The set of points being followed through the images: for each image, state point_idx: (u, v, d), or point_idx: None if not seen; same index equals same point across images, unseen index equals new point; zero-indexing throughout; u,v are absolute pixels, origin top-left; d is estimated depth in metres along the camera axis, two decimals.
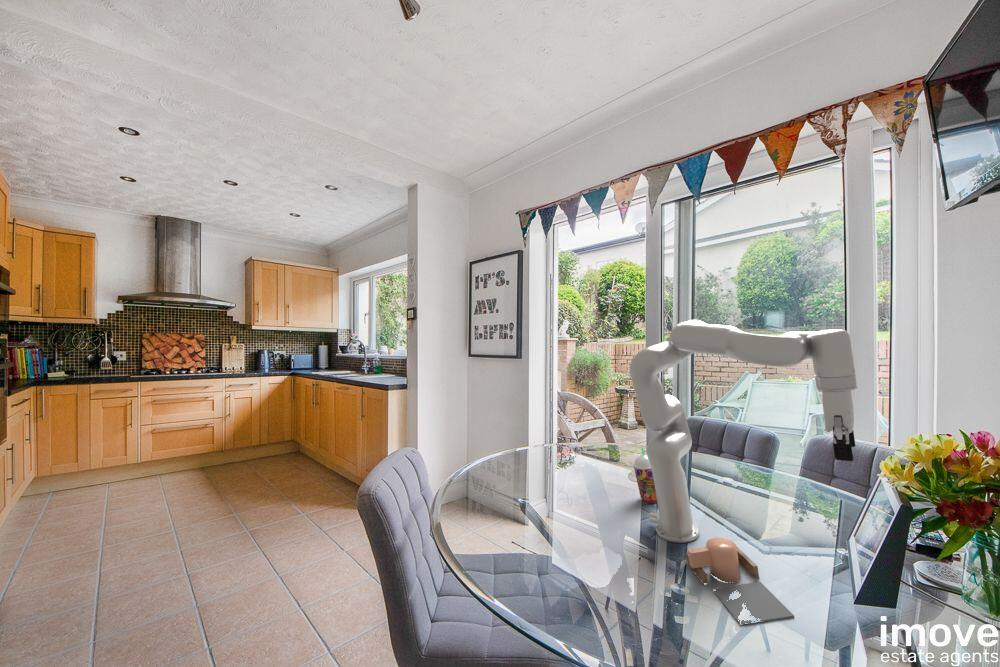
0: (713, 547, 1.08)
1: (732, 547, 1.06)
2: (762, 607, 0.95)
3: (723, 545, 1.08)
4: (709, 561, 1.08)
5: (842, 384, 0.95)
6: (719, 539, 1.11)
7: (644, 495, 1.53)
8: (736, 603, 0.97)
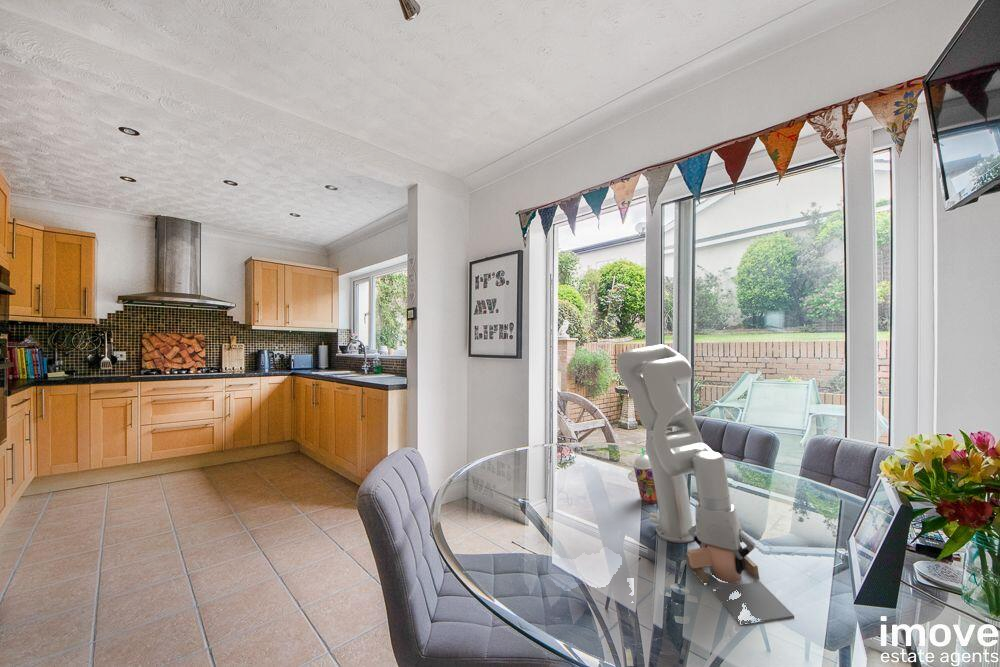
0: (714, 547, 1.08)
1: None
2: (762, 607, 0.95)
3: None
4: (710, 561, 1.08)
5: None
6: None
7: (644, 495, 1.53)
8: (736, 603, 0.97)
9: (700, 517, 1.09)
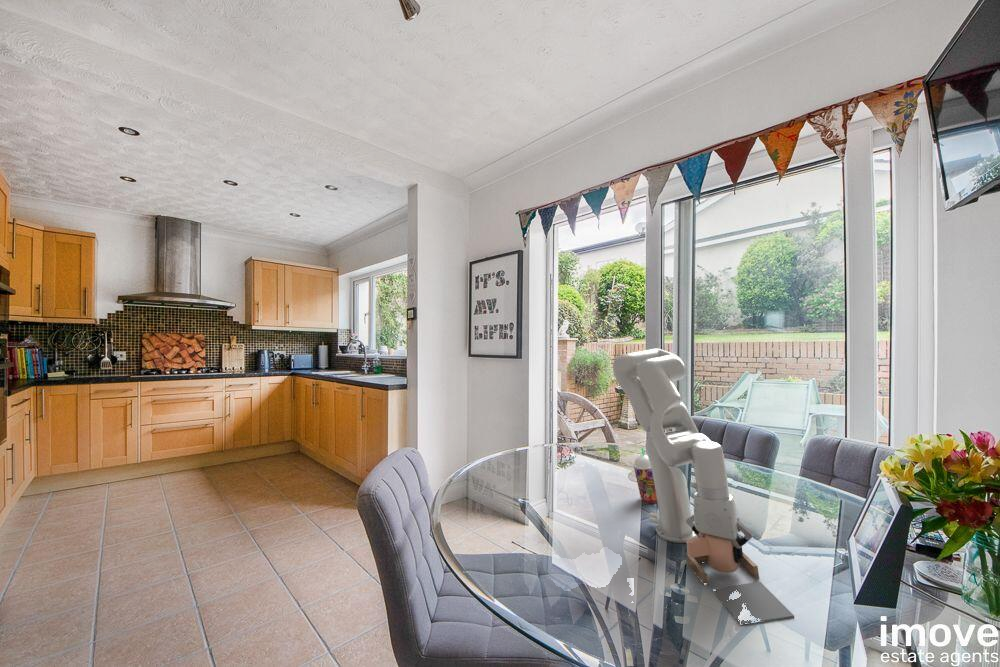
0: (712, 537, 1.08)
1: None
2: (762, 607, 0.95)
3: None
4: (707, 550, 1.08)
5: (728, 489, 1.07)
6: None
7: (644, 495, 1.53)
8: (736, 603, 0.97)
9: (698, 507, 1.09)
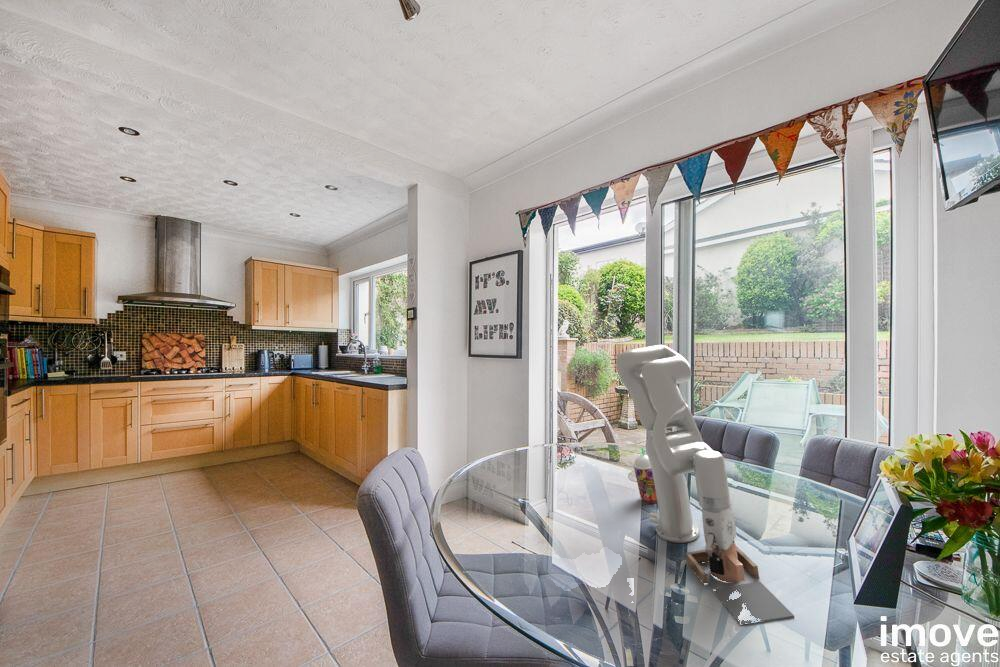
0: (728, 549, 1.06)
1: None
2: (762, 607, 0.95)
3: None
4: None
5: None
6: None
7: (644, 495, 1.53)
8: (736, 603, 0.97)
9: (723, 522, 1.04)
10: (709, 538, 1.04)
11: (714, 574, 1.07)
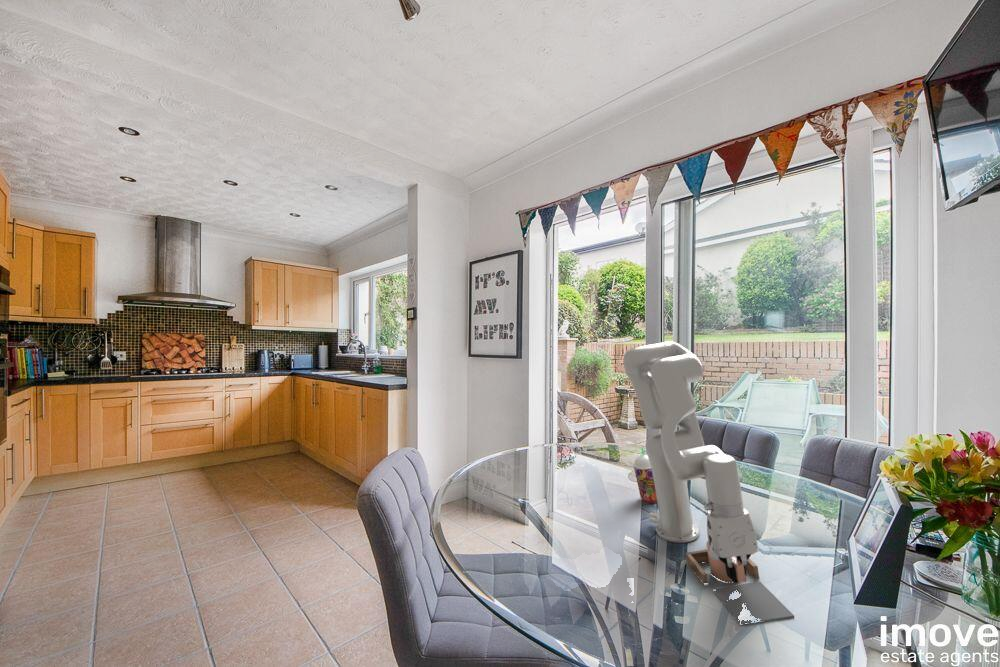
0: None
1: None
2: (762, 607, 0.95)
3: None
4: None
5: None
6: None
7: (644, 495, 1.53)
8: (736, 603, 0.97)
9: (721, 530, 0.99)
10: (711, 545, 1.02)
11: (715, 574, 1.07)
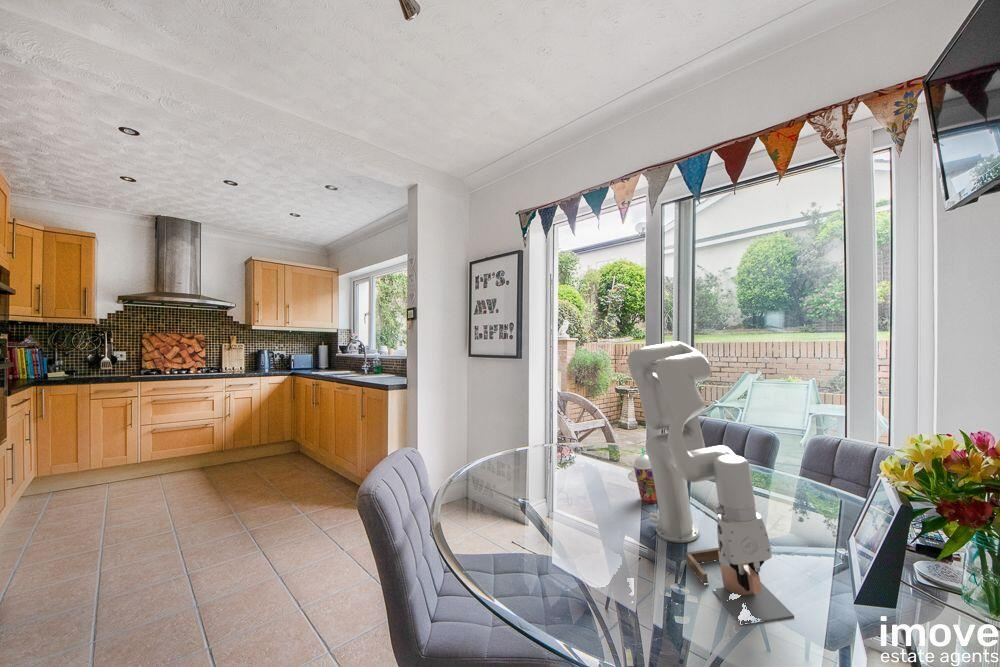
0: None
1: None
2: (762, 607, 0.95)
3: None
4: None
5: None
6: None
7: (644, 495, 1.53)
8: (736, 603, 0.97)
9: (732, 535, 0.94)
10: (721, 550, 0.97)
11: (727, 585, 1.01)
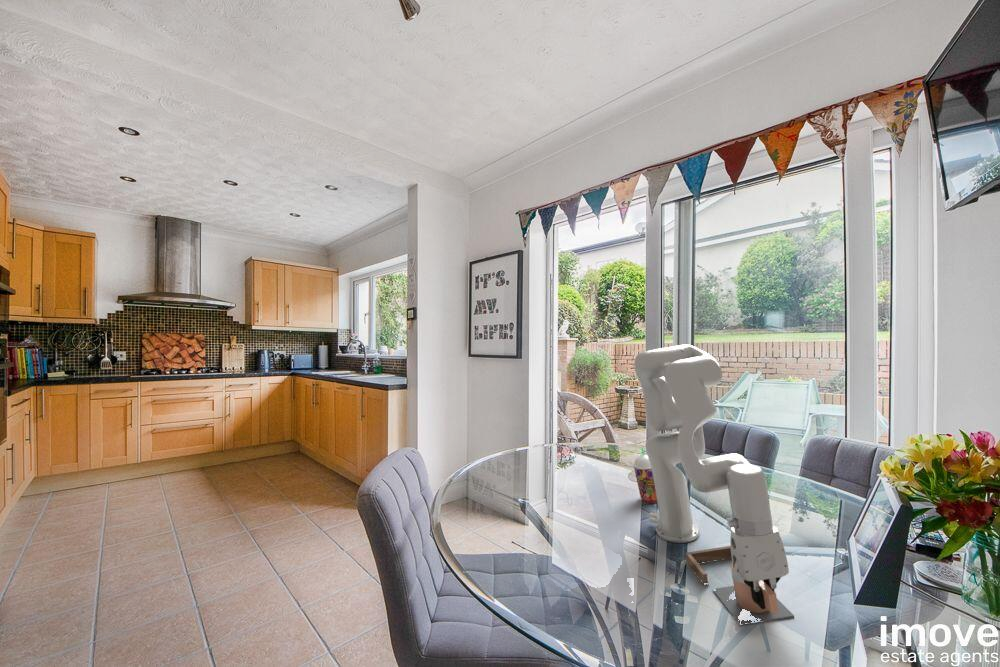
0: None
1: None
2: None
3: None
4: None
5: None
6: None
7: (644, 495, 1.53)
8: (736, 603, 0.97)
9: (747, 550, 0.88)
10: (735, 566, 0.91)
11: (741, 602, 0.95)
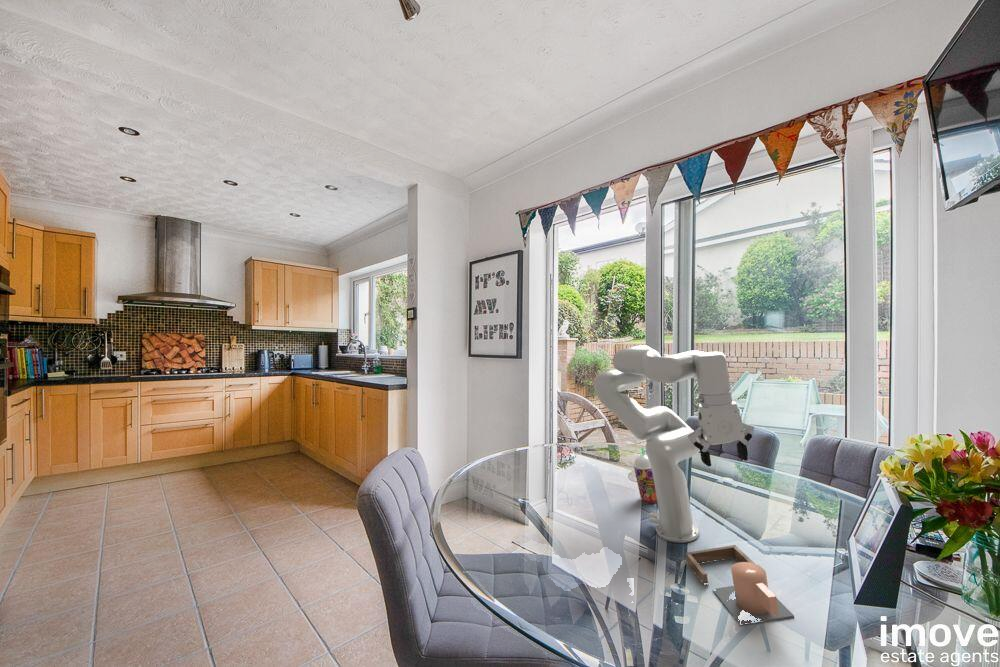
0: (757, 576, 0.94)
1: (751, 565, 0.98)
2: None
3: (748, 569, 0.97)
4: None
5: None
6: (735, 570, 0.97)
7: (644, 495, 1.53)
8: (736, 603, 0.97)
9: (710, 418, 1.08)
10: (696, 430, 1.11)
11: (741, 604, 0.95)
